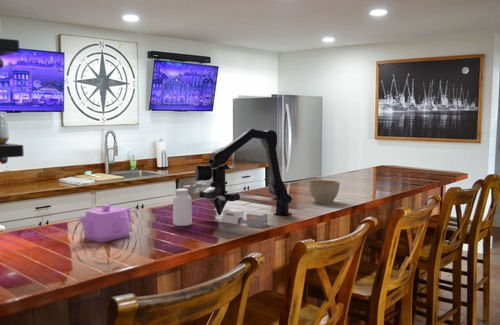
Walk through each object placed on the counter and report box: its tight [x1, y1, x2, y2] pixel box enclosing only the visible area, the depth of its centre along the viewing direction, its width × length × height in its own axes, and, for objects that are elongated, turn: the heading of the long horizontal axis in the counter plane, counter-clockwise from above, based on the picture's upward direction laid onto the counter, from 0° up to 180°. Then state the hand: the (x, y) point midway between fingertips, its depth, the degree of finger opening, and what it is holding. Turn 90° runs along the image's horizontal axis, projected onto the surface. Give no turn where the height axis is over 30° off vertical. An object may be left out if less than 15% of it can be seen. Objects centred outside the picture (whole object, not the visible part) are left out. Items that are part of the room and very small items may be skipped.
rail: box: [217, 216, 270, 228], centre depth 208 cm, size 8×22×2 cm, turn 57°
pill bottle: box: [172, 188, 193, 227], centre depth 206 cm, size 8×8×15 cm
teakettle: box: [78, 204, 132, 243], centre depth 186 cm, size 17×17×12 cm
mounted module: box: [245, 211, 269, 228], centre depth 204 cm, size 6×7×5 cm
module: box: [222, 208, 245, 224], centre depth 210 cm, size 6×7×5 cm
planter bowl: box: [308, 179, 341, 204], centre depth 256 cm, size 16×16×11 cm
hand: (219, 214), depth 215 cm, fingers closed
